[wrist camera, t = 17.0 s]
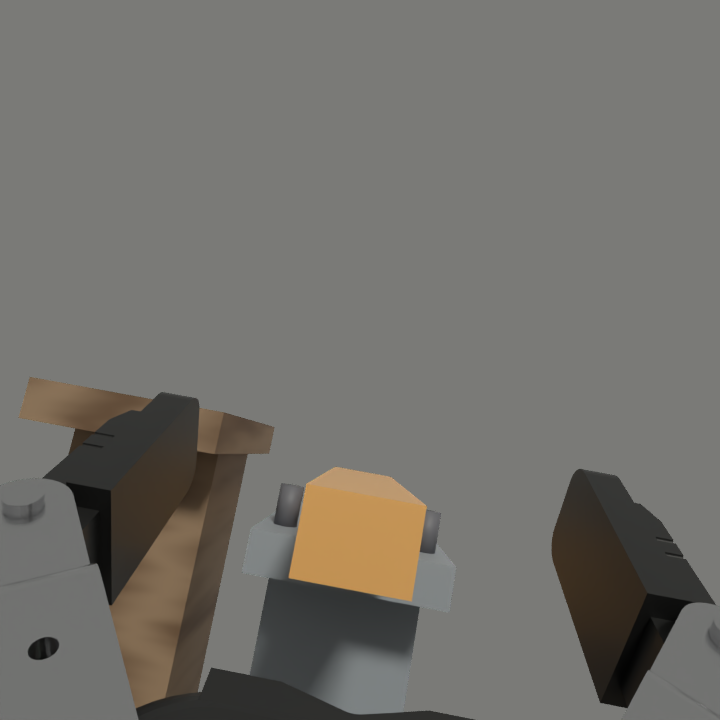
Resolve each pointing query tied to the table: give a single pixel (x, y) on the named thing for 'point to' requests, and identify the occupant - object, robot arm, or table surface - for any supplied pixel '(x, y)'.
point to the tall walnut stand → (166, 538)
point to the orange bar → (359, 534)
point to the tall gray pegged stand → (339, 619)
